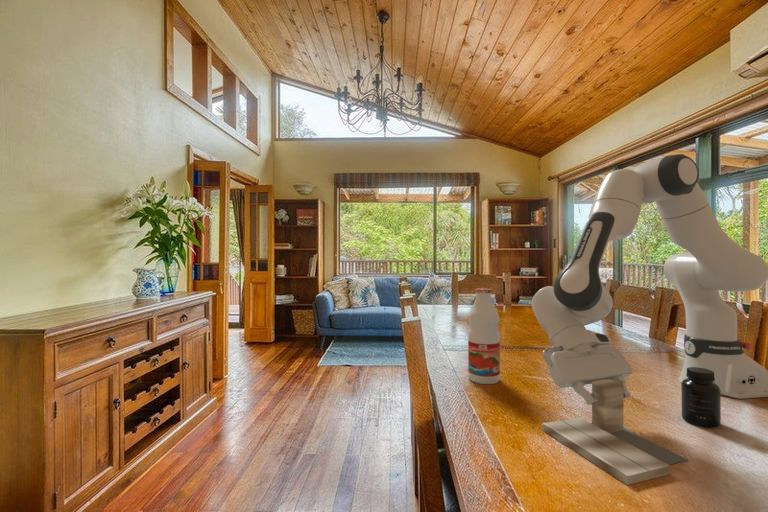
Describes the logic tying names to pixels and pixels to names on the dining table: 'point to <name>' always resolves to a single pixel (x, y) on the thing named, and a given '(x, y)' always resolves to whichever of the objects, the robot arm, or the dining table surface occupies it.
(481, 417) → the dining table surface
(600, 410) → the gray rectangular block
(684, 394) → the supplement bottle
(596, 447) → the floor panel
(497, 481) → the dining table surface
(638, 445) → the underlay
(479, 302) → the fruit juice
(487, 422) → the dining table surface
